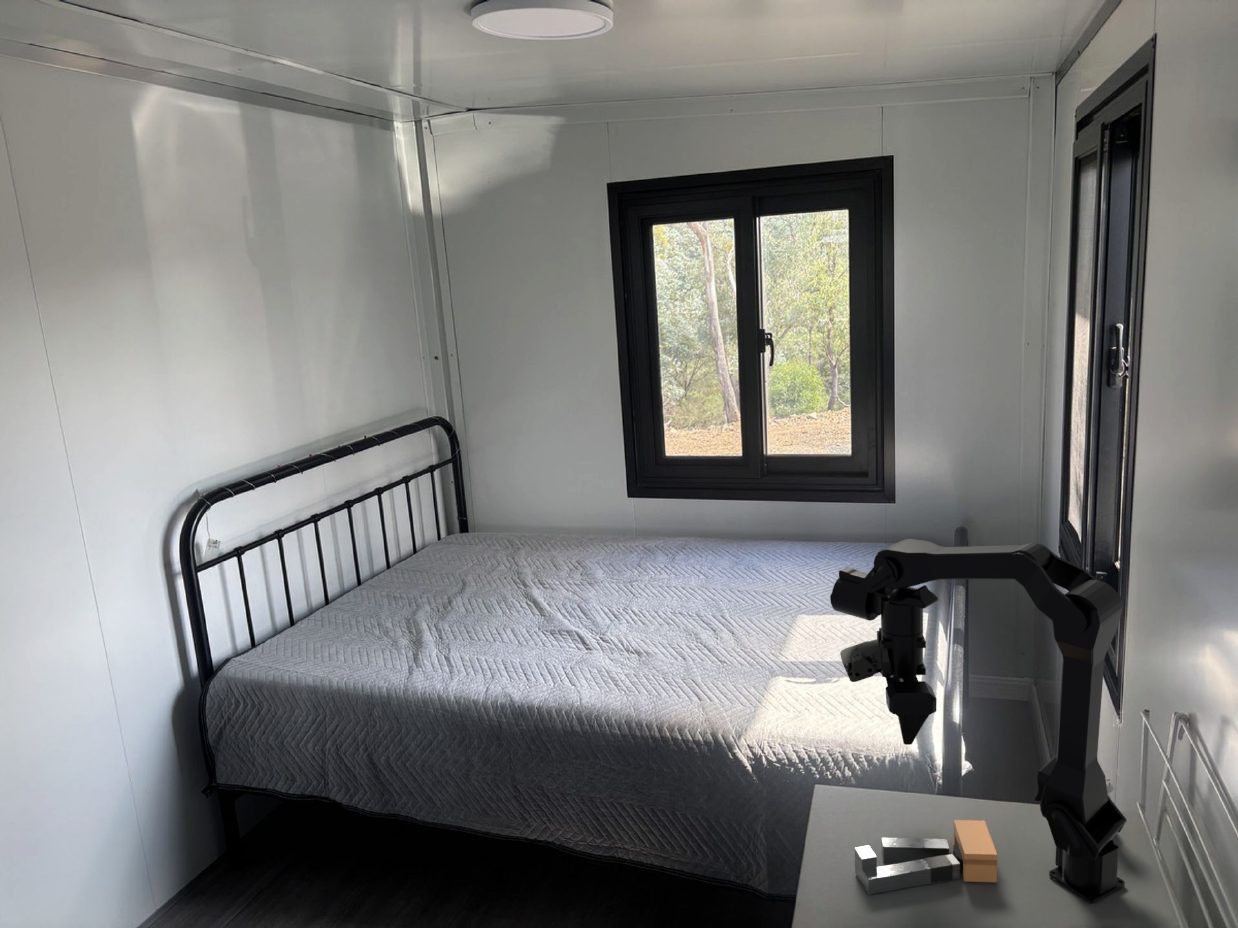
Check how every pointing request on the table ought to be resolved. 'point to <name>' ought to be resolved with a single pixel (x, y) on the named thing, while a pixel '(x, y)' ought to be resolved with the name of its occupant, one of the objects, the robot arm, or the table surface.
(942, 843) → the tongs fixed
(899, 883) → the arm
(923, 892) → the table surface
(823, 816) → the table surface
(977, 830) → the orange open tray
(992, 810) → the table surface
